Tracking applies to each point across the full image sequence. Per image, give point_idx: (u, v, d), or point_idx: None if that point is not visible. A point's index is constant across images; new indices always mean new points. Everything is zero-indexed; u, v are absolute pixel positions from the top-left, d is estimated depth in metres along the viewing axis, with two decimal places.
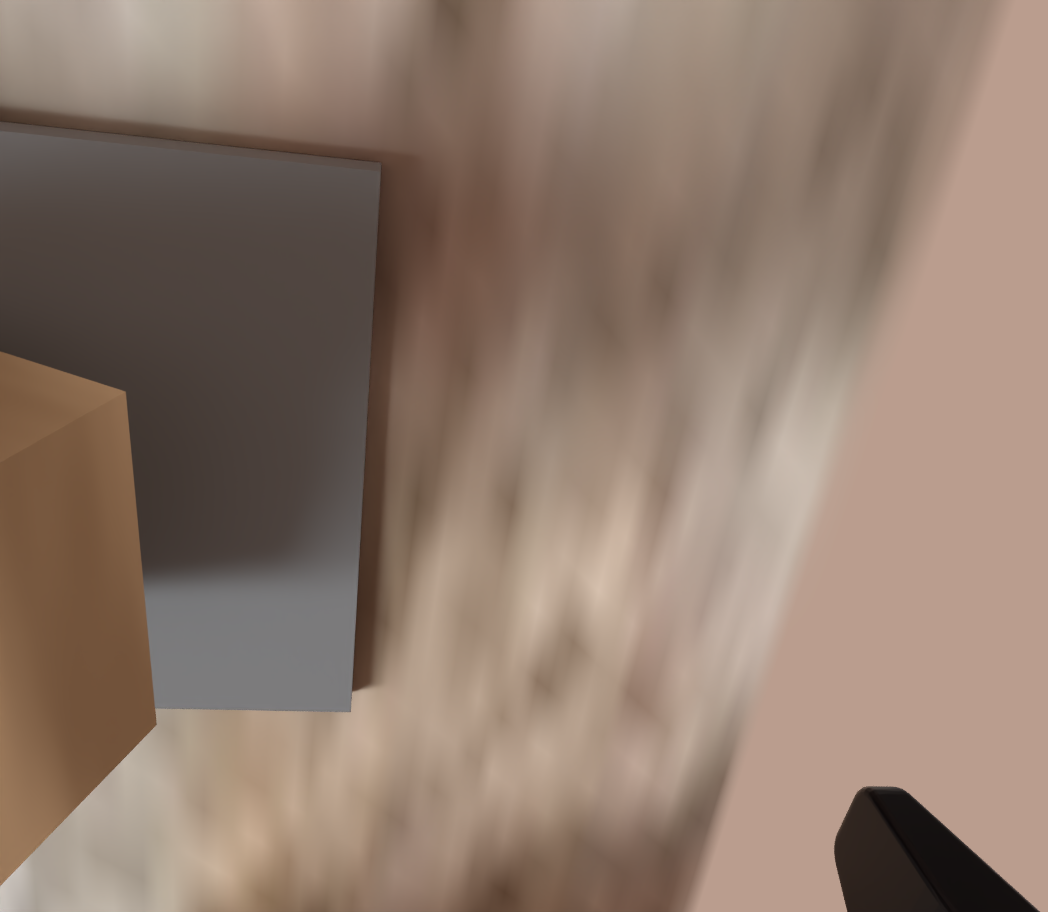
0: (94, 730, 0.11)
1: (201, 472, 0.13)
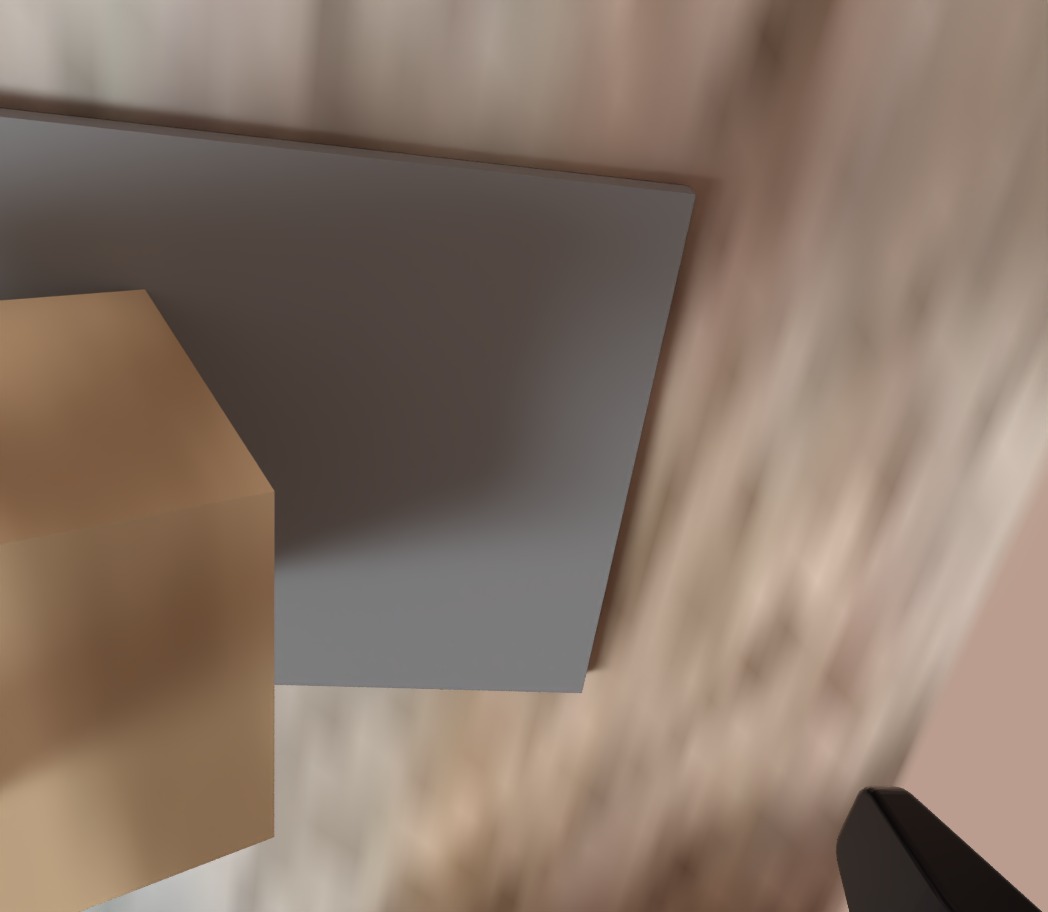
0: (181, 819, 0.10)
1: (488, 468, 0.14)
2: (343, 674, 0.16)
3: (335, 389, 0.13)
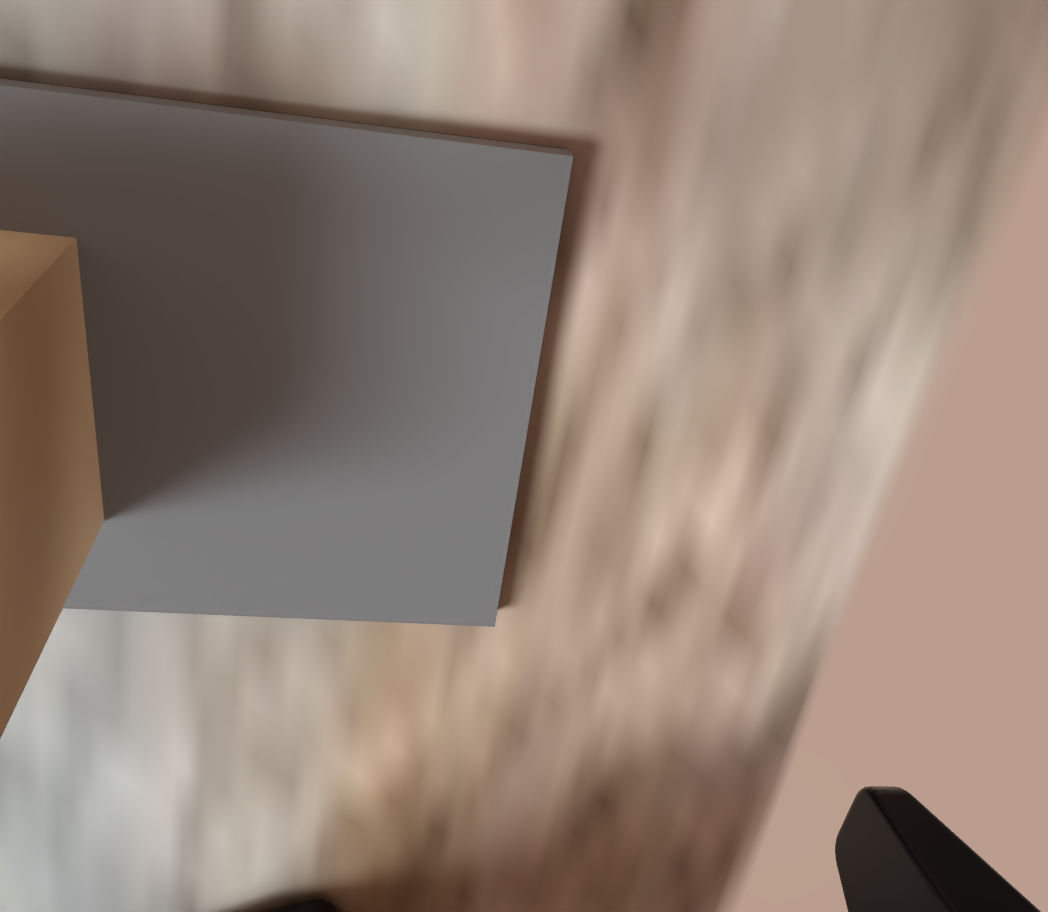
0: None
1: (397, 409, 0.16)
2: (271, 605, 0.17)
3: (252, 333, 0.15)
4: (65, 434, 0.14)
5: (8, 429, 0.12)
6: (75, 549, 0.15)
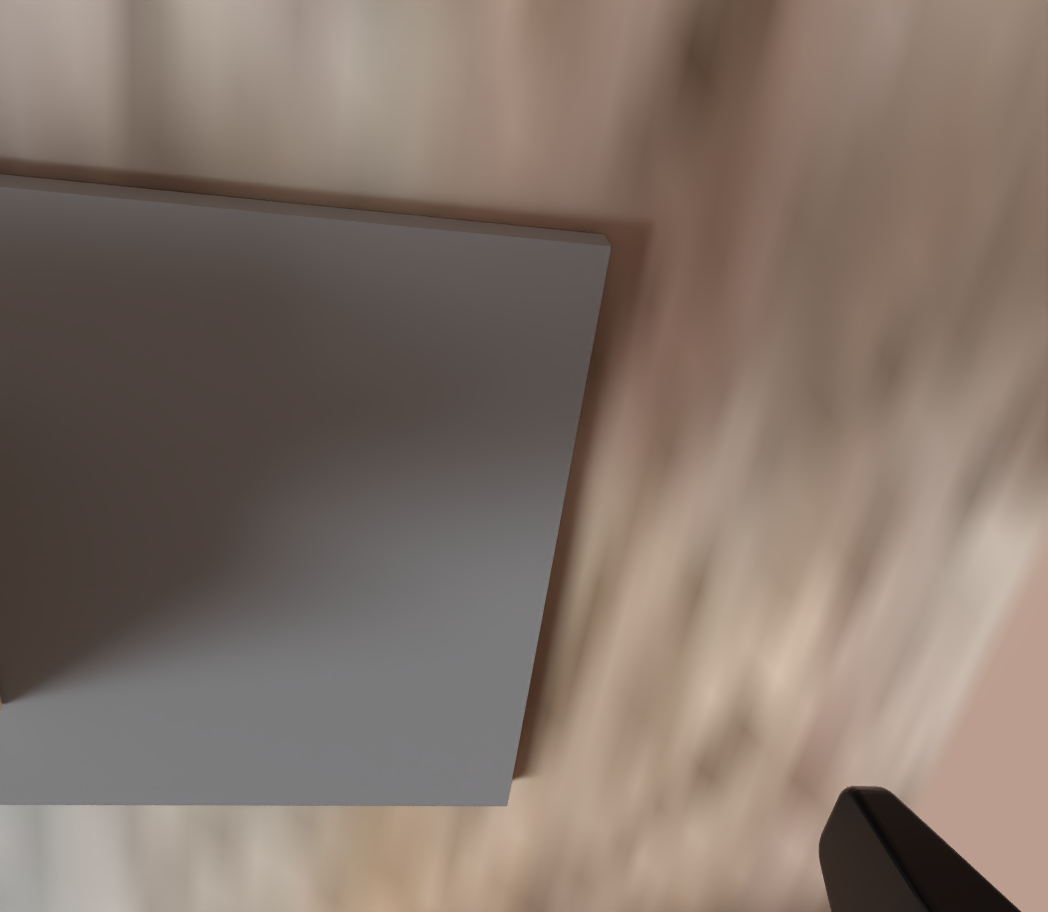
0: None
1: (378, 564, 0.12)
2: (225, 792, 0.14)
3: (183, 479, 0.11)
4: None
5: None
6: None
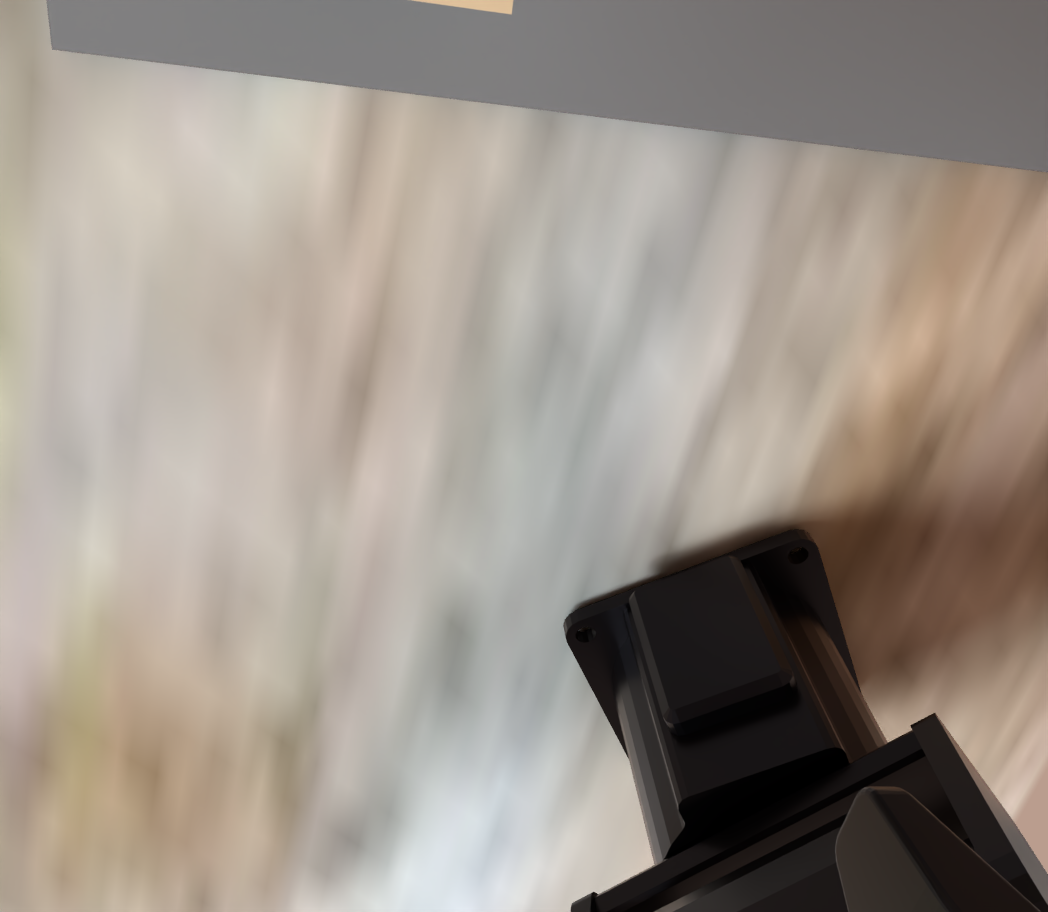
0: None
1: None
2: (886, 136, 0.18)
3: None
4: None
5: None
6: None
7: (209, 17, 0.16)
